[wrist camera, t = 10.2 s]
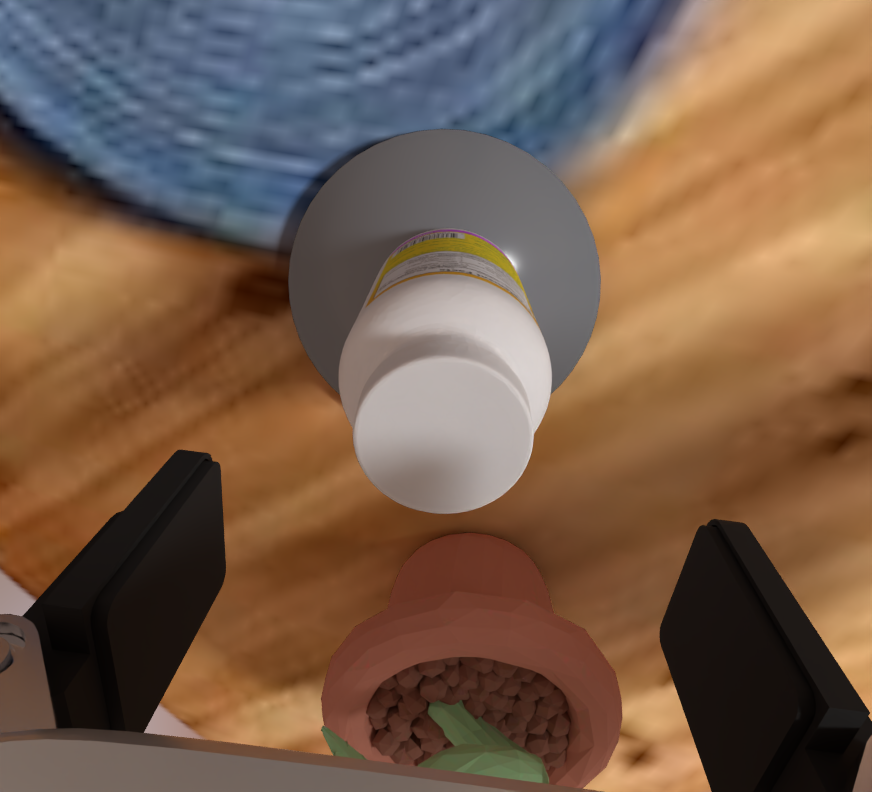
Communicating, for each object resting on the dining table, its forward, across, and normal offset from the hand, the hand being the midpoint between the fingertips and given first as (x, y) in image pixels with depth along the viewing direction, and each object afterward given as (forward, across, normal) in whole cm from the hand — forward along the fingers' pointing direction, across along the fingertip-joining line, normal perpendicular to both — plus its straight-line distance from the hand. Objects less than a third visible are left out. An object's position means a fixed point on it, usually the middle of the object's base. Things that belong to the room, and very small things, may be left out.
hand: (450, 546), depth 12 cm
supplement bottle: (+17, +1, 0) cm, 17 cm away
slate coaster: (+18, +1, 0) cm, 18 cm away
